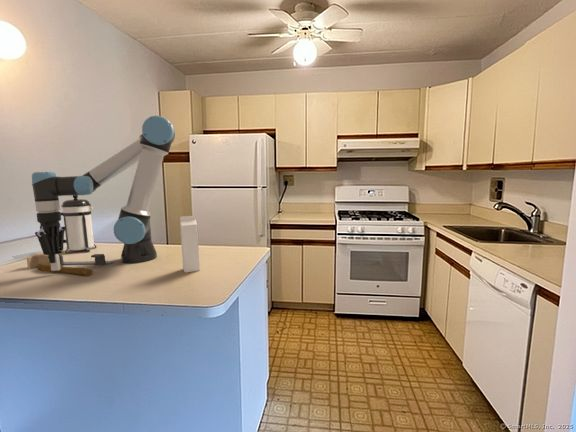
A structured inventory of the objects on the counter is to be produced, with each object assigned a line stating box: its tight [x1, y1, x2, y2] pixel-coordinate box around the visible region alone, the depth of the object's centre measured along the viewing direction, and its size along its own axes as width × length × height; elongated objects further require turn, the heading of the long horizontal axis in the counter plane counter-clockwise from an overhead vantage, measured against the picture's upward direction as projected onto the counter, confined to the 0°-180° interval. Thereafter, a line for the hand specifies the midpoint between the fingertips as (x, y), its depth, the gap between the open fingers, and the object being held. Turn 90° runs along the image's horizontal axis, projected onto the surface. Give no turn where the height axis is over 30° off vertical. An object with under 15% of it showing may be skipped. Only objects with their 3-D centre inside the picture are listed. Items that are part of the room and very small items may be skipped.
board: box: [26, 252, 115, 270], centre depth 138 cm, size 33×9×6 cm, turn 89°
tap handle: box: [36, 263, 94, 277], centre depth 128 cm, size 3×3×30 cm
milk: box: [179, 215, 201, 273], centre depth 126 cm, size 6×6×22 cm
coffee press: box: [60, 195, 97, 255], centre depth 164 cm, size 17×16×30 cm
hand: (56, 269), depth 126 cm, fingers closed
